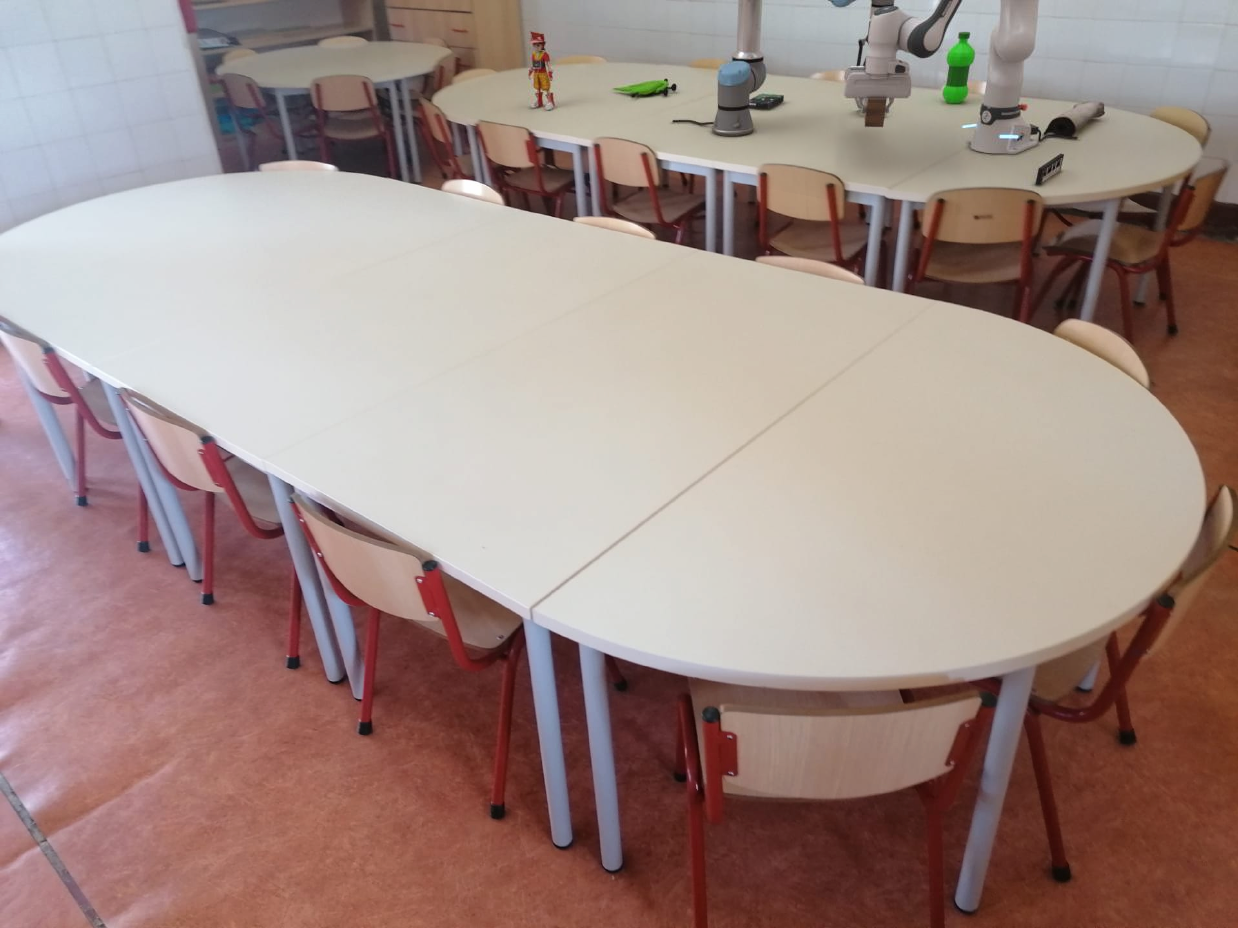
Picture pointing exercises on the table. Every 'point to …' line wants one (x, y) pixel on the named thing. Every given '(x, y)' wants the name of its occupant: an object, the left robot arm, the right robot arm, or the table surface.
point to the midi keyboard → (1049, 169)
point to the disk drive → (765, 101)
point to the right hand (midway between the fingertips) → (874, 112)
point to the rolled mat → (1075, 118)
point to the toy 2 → (648, 88)
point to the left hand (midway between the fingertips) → (872, 91)
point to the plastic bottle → (958, 69)
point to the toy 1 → (541, 71)
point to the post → (875, 111)
